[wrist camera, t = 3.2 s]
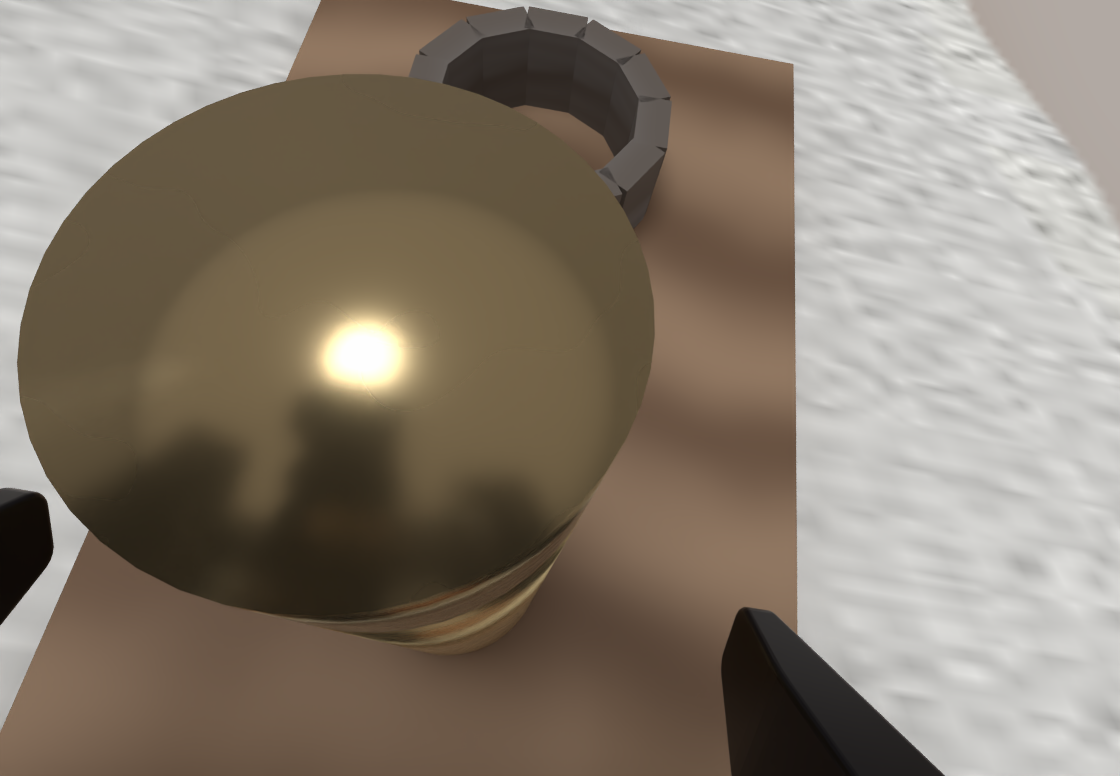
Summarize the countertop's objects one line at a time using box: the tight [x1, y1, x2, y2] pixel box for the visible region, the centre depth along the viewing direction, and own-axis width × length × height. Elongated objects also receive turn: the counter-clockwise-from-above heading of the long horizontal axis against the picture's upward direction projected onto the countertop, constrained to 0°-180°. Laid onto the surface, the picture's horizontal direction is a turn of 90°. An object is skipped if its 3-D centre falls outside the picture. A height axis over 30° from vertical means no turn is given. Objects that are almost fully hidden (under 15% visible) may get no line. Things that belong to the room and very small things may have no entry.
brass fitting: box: [17, 74, 655, 655], centre depth 11 cm, size 4×4×13 cm
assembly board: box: [0, 0, 797, 776], centre depth 18 cm, size 30×18×4 cm, turn 172°
